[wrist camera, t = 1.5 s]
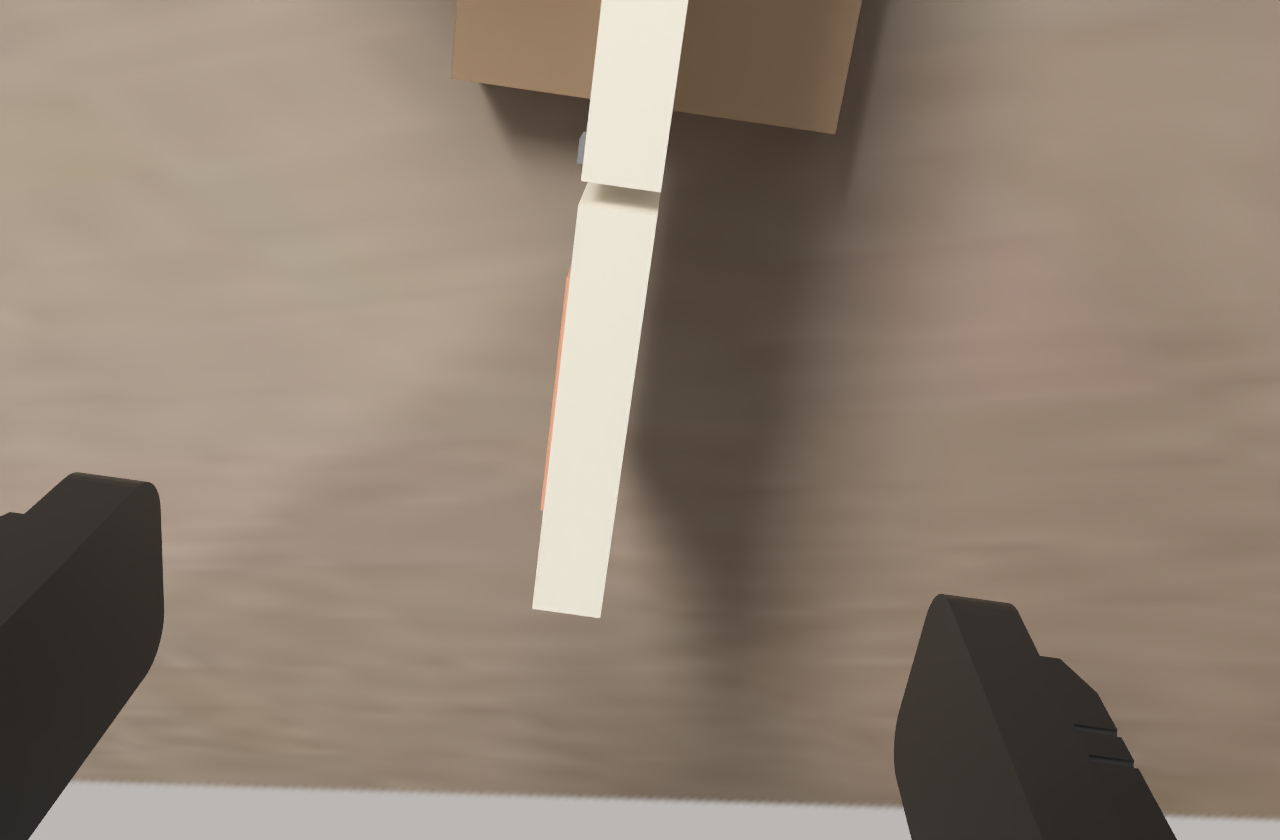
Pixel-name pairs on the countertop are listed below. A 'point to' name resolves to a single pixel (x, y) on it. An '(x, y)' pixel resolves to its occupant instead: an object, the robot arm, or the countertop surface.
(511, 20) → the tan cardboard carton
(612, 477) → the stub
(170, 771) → the countertop surface
